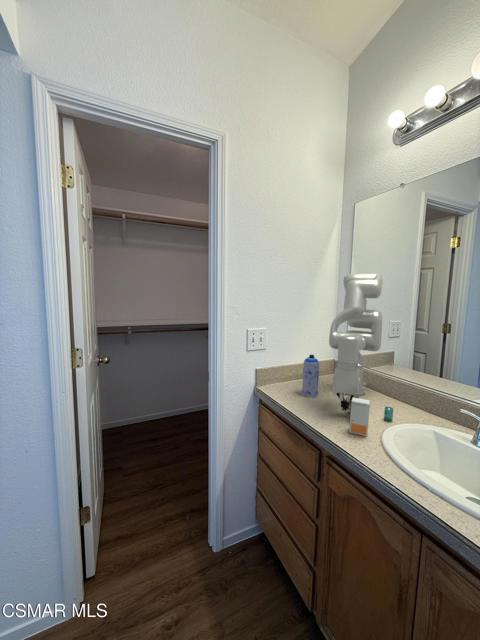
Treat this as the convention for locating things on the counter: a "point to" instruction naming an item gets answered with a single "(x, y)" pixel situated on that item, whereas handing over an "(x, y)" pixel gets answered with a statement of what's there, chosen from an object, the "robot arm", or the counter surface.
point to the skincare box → (359, 416)
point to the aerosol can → (310, 377)
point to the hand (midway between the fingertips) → (344, 409)
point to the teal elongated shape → (388, 414)
